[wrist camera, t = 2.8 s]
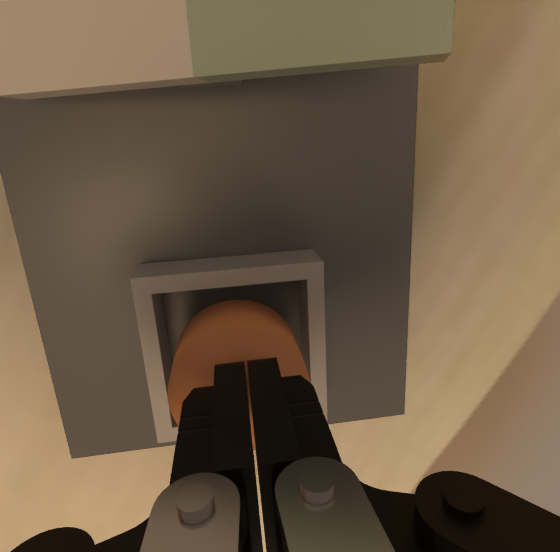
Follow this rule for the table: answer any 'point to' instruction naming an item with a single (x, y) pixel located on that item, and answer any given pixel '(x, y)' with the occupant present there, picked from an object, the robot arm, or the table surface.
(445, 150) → the table surface
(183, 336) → the button
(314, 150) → the panel
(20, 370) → the table surface
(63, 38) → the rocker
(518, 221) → the table surface
